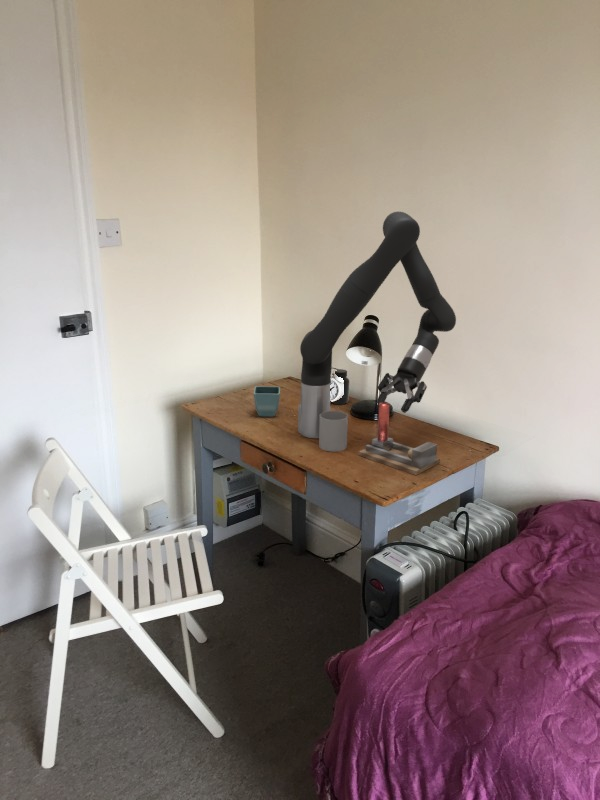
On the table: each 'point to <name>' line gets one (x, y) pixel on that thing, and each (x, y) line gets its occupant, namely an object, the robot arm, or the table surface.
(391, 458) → the machine vise
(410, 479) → the table surface
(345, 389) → the supplement bottle
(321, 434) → the cup
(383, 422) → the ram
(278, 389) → the flower pot
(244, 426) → the table surface
